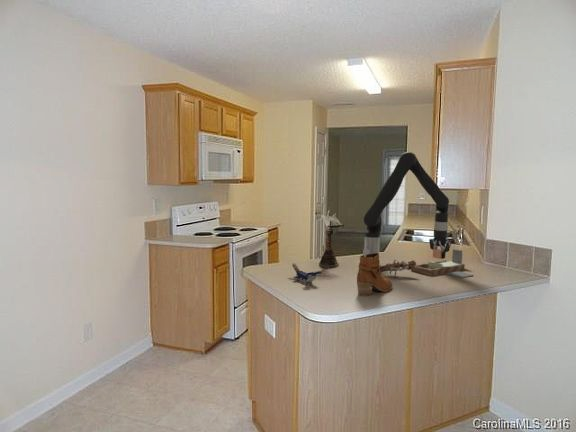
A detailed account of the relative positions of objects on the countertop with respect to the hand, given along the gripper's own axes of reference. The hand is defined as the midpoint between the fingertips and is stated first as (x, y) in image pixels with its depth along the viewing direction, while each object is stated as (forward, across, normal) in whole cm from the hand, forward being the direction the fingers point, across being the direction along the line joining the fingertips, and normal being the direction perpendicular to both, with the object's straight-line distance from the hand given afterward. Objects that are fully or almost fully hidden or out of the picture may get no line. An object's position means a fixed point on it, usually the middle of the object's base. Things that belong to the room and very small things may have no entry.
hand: (438, 257), depth 238 cm
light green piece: (+6, +1, +7) cm, 9 cm away
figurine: (+8, -4, -36) cm, 38 cm away
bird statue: (+9, -40, -49) cm, 63 cm away
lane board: (+7, 0, -1) cm, 8 cm away
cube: (0, 0, 0) cm, 0 cm away
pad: (+7, +14, 0) cm, 16 cm away
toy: (+9, -20, -83) cm, 86 cm away
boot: (+8, +14, -64) cm, 66 cm away
